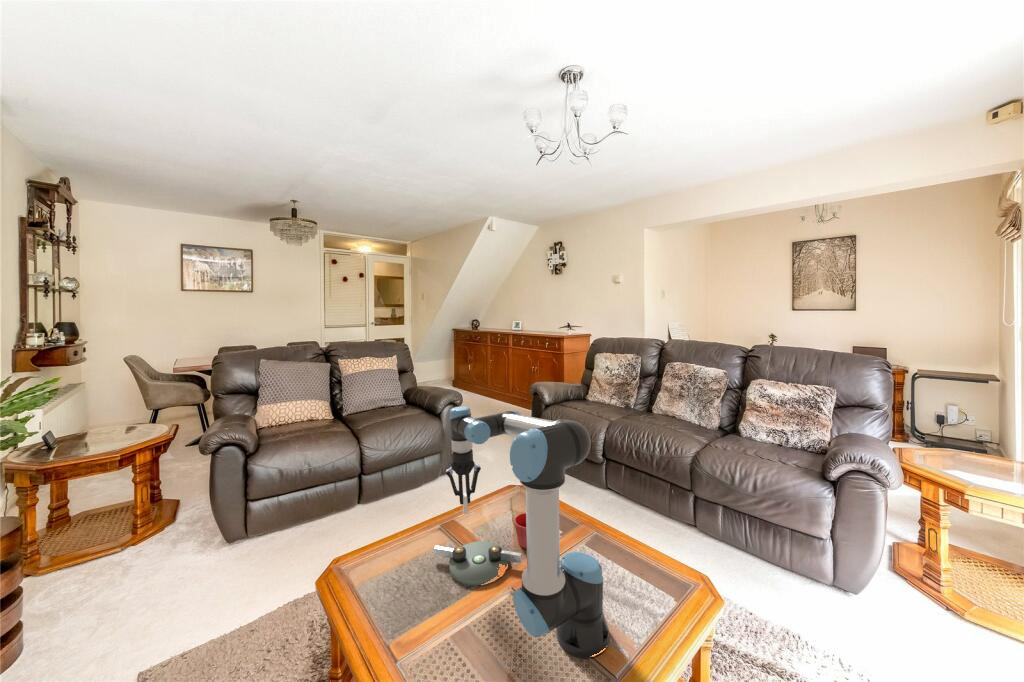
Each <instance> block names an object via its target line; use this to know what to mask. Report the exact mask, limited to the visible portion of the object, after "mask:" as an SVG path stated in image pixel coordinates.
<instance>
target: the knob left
mask: <svg viewBox="0 0 1024 682" xmlns="http://www.w3.org/2000/svg"><path fill="white" fill-rule="evenodd" d="M433 550H434V551H433V553H434V554H433V555H434V556H437V557H442V558H448V559H450V558H453V561H454V562H456V563H461V562H464V561H465V560H466V549H465V548H464V547H461V546H457V547H454V548H452V547H446V546H440V545H435V546H434V548H433Z"/></svg>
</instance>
